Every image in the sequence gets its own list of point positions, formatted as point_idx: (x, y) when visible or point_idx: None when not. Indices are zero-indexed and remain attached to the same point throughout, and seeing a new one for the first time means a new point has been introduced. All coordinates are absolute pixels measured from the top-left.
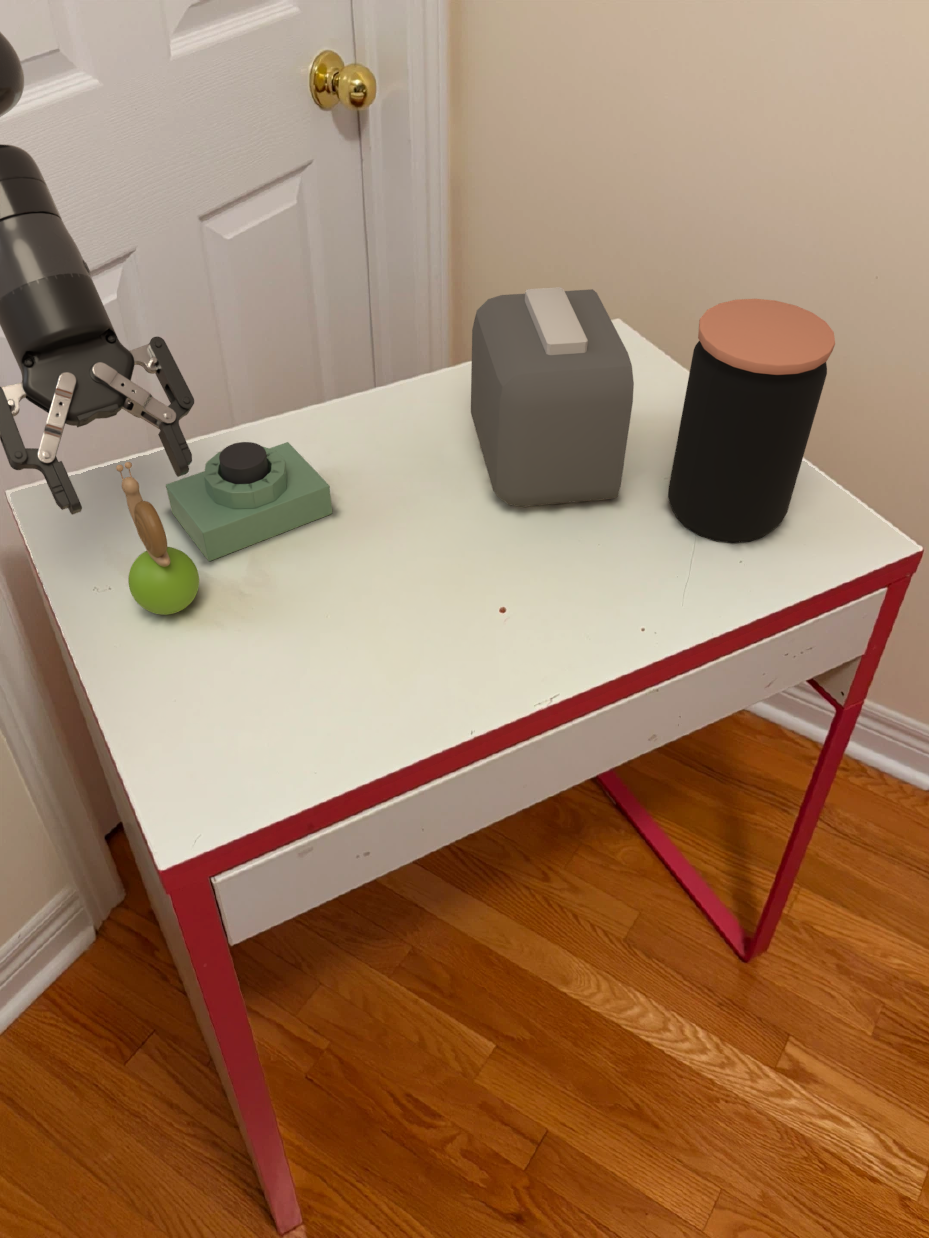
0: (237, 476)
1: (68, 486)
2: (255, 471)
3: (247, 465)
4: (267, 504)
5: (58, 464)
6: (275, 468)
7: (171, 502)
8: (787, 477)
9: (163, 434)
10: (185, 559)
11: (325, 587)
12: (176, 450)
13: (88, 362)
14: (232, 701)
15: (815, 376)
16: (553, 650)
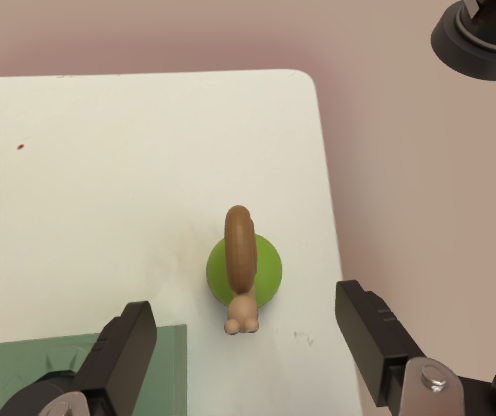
0: None
1: (364, 305)
2: (44, 380)
3: (43, 391)
4: (79, 344)
5: (392, 350)
6: (16, 391)
7: None
8: None
9: (116, 383)
10: (214, 256)
11: (111, 231)
12: (123, 330)
13: None
14: (237, 151)
15: None
16: (27, 104)
